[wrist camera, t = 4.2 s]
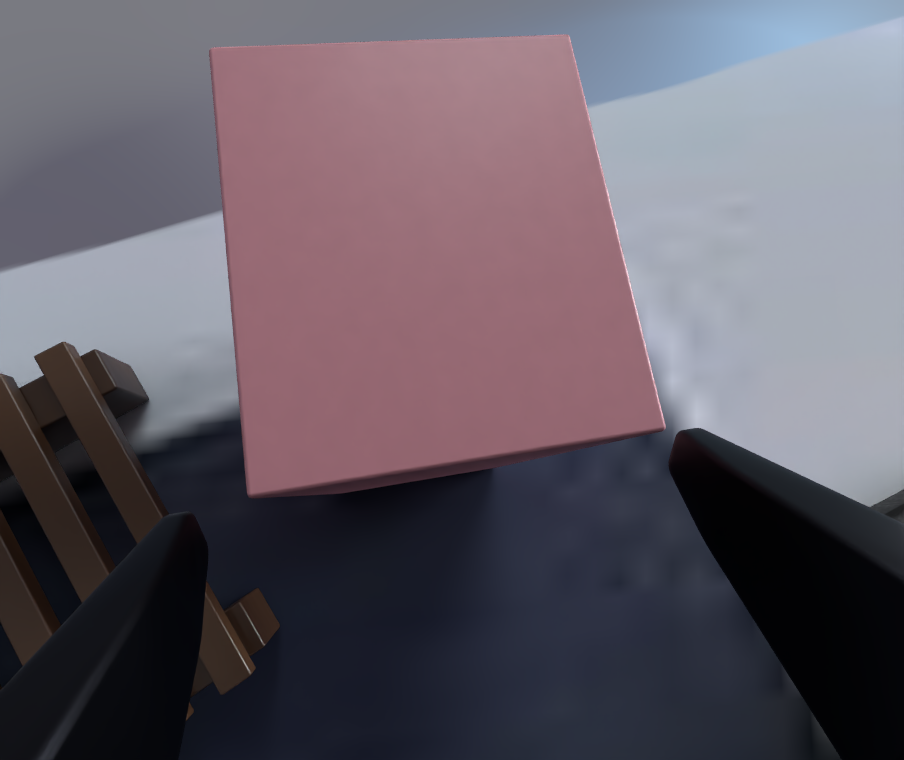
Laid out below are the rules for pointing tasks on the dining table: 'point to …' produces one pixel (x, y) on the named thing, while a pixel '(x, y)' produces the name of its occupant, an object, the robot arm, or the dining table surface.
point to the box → (420, 262)
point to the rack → (65, 520)
